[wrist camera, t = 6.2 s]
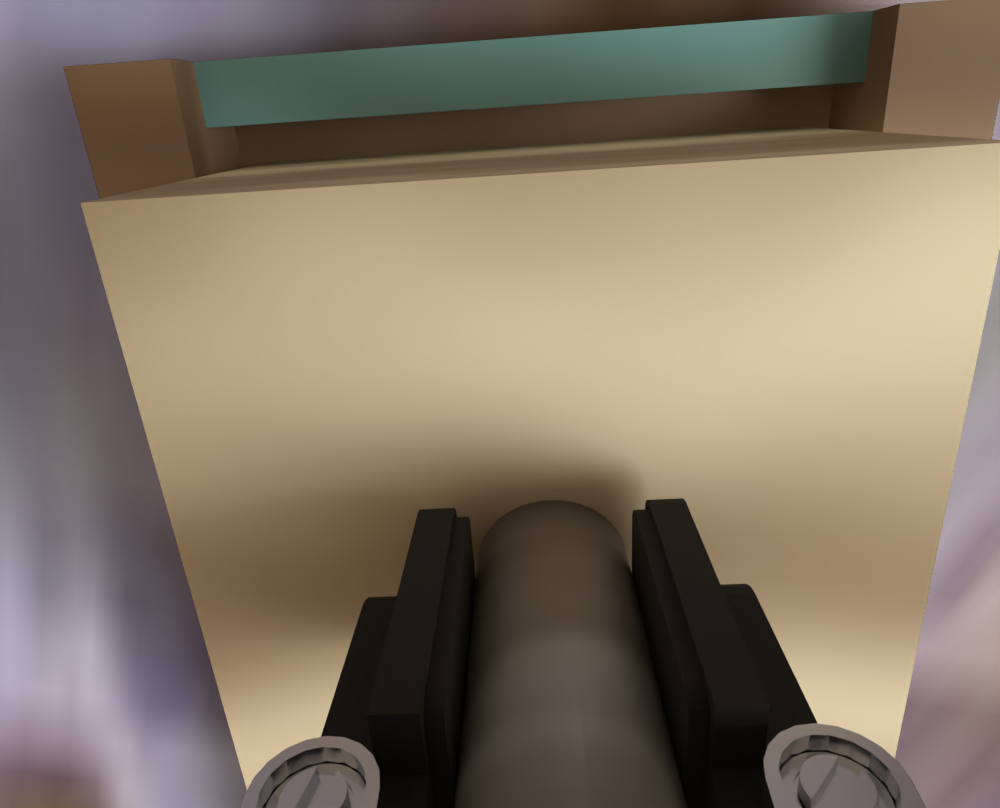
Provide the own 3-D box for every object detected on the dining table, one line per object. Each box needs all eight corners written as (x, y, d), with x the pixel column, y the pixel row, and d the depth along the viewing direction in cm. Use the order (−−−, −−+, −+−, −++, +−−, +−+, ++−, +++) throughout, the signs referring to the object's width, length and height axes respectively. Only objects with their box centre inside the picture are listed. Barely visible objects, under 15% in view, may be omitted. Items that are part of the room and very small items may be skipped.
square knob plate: (260, 163, 16) (-561, 342, 4) (808, 127, 15) (1891, 200, 3) (341, 601, 20) (85, 1306, 8) (764, 586, 20) (1138, 1323, 8)
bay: (150, 74, 16) (63, 66, 13) (919, 17, 15) (1019, -5, 12) (329, 851, 26) (304, 949, 23) (800, 842, 25) (838, 943, 22)
